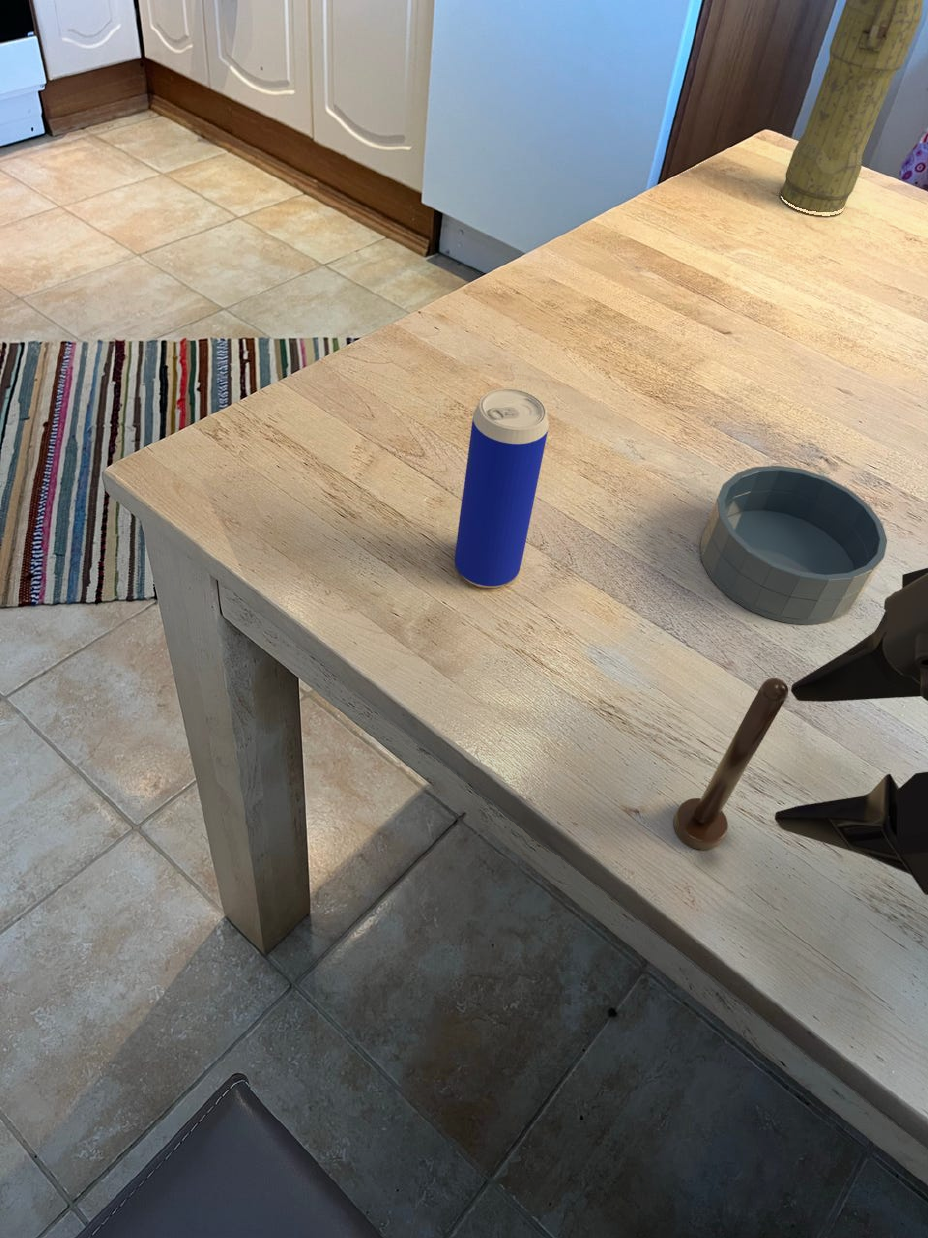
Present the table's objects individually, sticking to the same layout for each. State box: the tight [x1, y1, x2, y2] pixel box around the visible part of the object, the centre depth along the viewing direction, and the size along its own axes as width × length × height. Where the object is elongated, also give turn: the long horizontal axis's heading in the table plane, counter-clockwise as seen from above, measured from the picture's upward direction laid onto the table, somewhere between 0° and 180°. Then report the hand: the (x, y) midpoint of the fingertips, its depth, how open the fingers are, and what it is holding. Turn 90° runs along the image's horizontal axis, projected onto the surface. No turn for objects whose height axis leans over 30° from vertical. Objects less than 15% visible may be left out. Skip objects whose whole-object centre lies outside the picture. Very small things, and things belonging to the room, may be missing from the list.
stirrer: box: [673, 677, 789, 851], centre depth 55 cm, size 3×3×15 cm
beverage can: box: [453, 387, 550, 589], centre depth 68 cm, size 5×5×15 cm
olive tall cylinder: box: [779, 0, 924, 218], centre depth 115 cm, size 9×12×35 cm
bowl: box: [699, 465, 888, 626], centre depth 76 cm, size 13×13×5 cm
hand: (786, 753), depth 53 cm, fingers open, 9 cm apart
